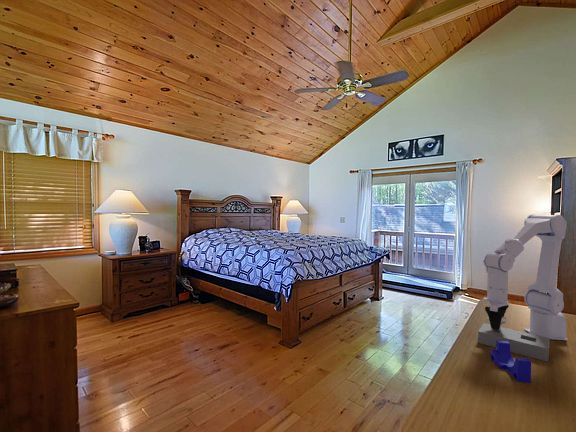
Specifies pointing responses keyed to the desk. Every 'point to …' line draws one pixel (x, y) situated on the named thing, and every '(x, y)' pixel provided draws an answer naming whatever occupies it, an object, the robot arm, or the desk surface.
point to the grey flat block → (516, 341)
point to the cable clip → (511, 362)
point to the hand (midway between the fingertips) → (496, 326)
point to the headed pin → (501, 323)
